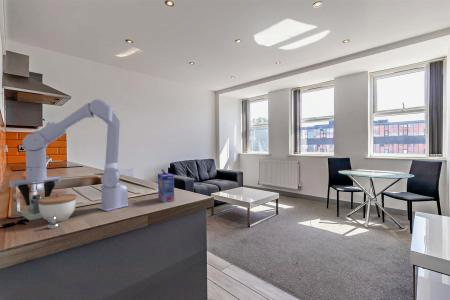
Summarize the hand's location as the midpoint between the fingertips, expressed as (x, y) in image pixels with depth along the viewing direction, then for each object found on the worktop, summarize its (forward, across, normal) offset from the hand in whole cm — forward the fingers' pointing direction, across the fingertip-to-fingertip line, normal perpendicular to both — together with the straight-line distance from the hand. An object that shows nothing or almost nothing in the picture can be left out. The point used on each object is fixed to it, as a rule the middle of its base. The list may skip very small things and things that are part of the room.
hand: (37, 203), depth 82 cm
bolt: (+4, 0, -19) cm, 20 cm away
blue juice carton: (+5, +44, -19) cm, 48 cm away
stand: (+4, 0, 0) cm, 4 cm away
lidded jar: (+5, +3, -12) cm, 13 cm away
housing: (+3, 0, 0) cm, 3 cm away
